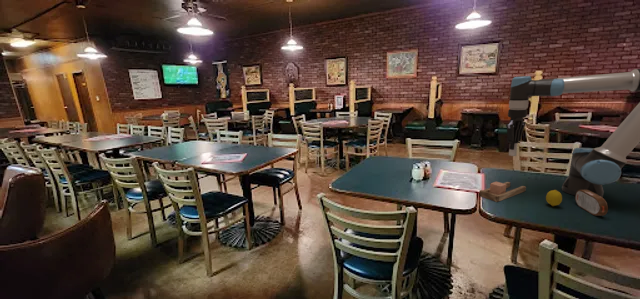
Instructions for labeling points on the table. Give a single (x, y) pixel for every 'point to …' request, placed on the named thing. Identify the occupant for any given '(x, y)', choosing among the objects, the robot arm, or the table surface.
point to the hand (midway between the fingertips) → (512, 155)
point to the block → (497, 188)
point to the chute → (502, 196)
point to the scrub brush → (591, 202)
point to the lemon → (554, 197)
